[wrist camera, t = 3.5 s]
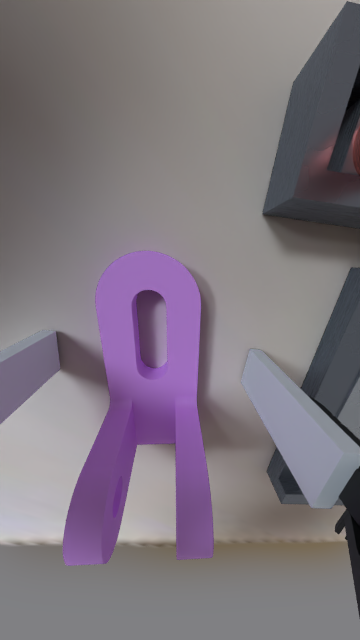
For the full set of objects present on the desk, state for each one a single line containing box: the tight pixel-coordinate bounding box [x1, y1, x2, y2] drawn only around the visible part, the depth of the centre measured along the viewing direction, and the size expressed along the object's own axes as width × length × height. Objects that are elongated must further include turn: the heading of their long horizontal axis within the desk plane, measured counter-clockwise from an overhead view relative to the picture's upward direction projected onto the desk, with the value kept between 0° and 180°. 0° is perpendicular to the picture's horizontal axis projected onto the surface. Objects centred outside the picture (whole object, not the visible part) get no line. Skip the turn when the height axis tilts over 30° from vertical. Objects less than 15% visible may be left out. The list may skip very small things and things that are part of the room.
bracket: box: [63, 251, 214, 566], centre depth 8 cm, size 13×6×7 cm, turn 0°
